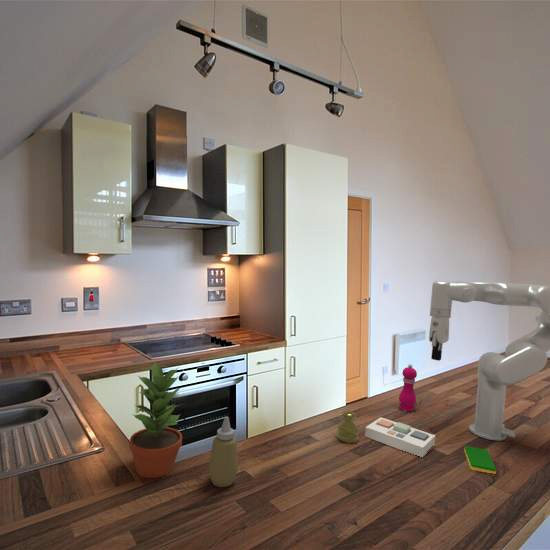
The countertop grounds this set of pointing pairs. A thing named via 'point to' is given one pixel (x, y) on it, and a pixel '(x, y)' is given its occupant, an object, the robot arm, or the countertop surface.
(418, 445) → the key pad
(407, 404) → the pepper mill
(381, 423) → the terracotta key
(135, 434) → the potted plant
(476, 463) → the dish sponge
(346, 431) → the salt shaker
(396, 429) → the sage key
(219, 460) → the squeeze bottle
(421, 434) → the charcoal key
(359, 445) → the countertop surface
